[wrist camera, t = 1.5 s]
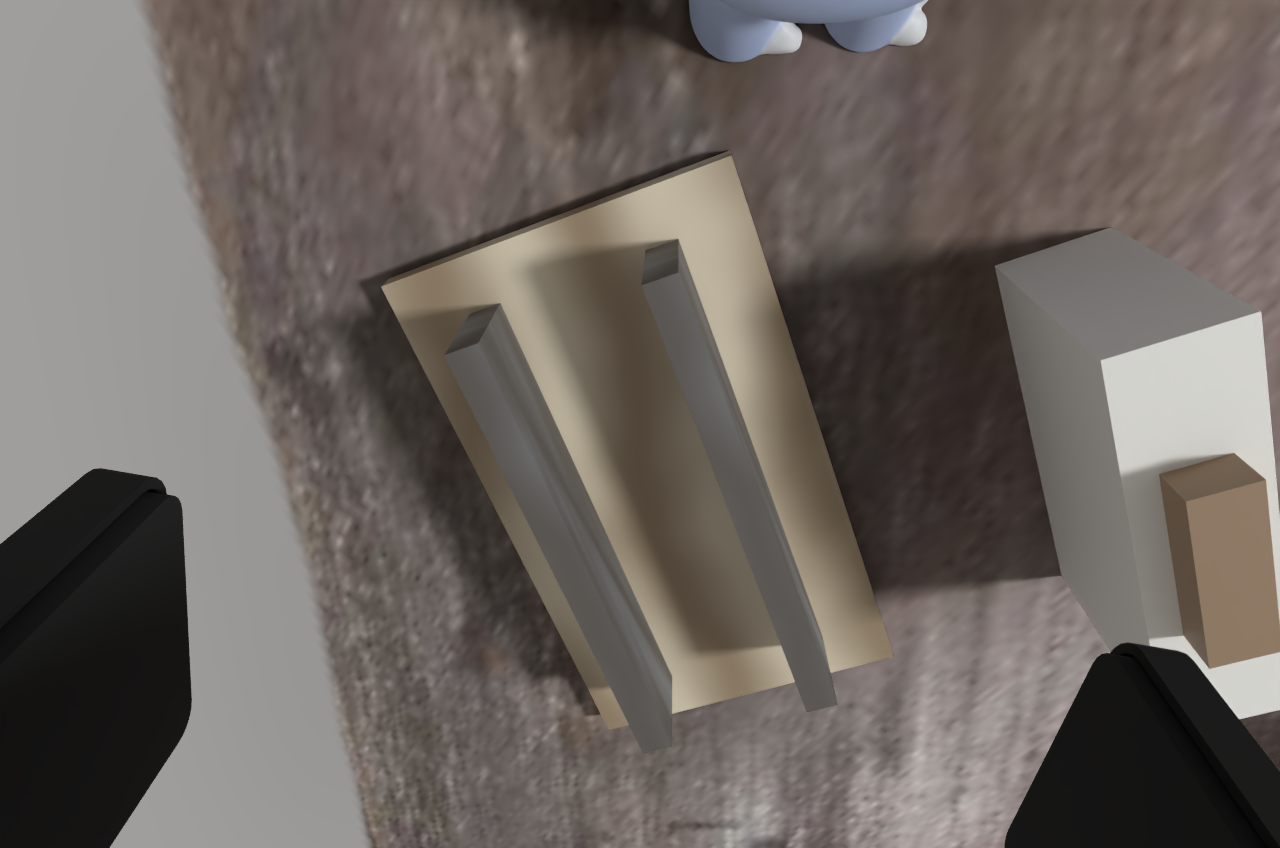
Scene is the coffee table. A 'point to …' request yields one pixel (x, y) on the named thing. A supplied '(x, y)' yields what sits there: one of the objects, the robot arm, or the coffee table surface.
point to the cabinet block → (1154, 453)
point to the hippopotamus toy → (770, 5)
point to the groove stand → (651, 447)
